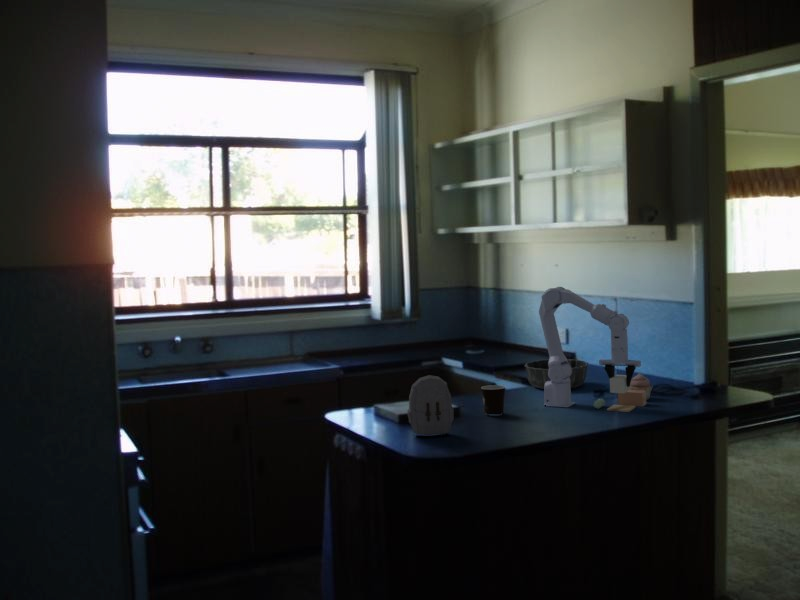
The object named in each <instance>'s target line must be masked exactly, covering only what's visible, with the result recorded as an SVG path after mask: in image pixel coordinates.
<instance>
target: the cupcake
mask: <svg viewBox="0 0 800 600" xmlns="http://www.w3.org/2000/svg"><path fill="white" fill-rule="evenodd" d="M650 381H651V380H649V379H648V377H645V376H644V375H643V374H642V373H640V372H638V374H637V375H635V376H634V377H633V376H632V379H631V389H630V390H646V401H647V400H649V399H650V396H651V392H652V389H653V388H654V386H653V385H651V382H650Z"/></svg>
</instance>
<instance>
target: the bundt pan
mask: <svg viewBox="0 0 800 600" xmlns="http://www.w3.org/2000/svg"><path fill="white" fill-rule="evenodd" d="M567 361H568V363H569V364H570V366H571V367H572V374H571V376H570V377H569V378H570V386H571V390H573V389H576V388H578V387H580V386H582V385H583V383H584V382H585V381H586V377H587V370H588V365H589V362H586V361H585V360H579V359H570V358H567ZM548 362H549V359H538V360H532V361H530V362H529V361H528V362H526V363H525V364H524V367H525V372H526V378H527V380H528V382H529V384H530V385H531V386H533V387H535V388H536V389H541V390H543V389H544V385H545V383H546V382H547V381H551V379H550V378H549V376H548V370H549V366H548Z"/></svg>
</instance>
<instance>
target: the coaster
mask: <svg viewBox="0 0 800 600" xmlns="http://www.w3.org/2000/svg"><path fill="white" fill-rule="evenodd" d="M636 407H637V406H629V405H618V404H612V405H611V406H609V407H608V408H607V409H606V411H611V412H622V413H623V412H624V413H625V412H627V413H630V412H631V411H633V410H634V409H636Z"/></svg>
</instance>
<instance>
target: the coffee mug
mask: <svg viewBox="0 0 800 600" xmlns="http://www.w3.org/2000/svg"><path fill="white" fill-rule="evenodd" d="M480 390H481V397H482V403H483V410H484V414H485V413H487V414H501V413H503V414H504V407H505V406H504V405H505V394H506V386H504V385H498V384H491V385H484V386H481V388H480Z"/></svg>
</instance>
